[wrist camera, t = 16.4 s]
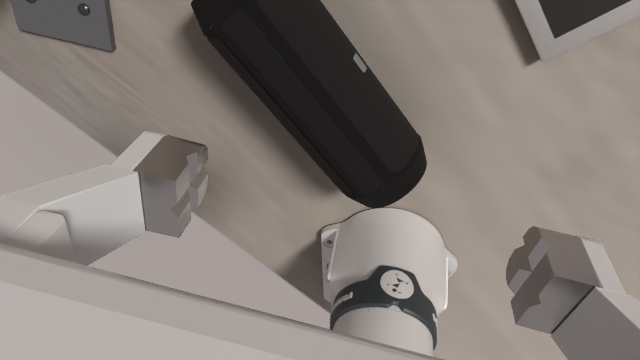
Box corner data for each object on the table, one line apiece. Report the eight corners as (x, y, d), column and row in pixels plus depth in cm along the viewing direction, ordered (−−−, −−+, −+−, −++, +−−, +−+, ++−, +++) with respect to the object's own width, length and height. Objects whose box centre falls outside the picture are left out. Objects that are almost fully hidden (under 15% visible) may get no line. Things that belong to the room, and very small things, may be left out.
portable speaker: (433, 134, 47) (436, 190, 40) (360, 172, 52) (350, 228, 45) (283, -78, 38) (247, -59, 30) (211, -7, 43) (164, 25, 35)
